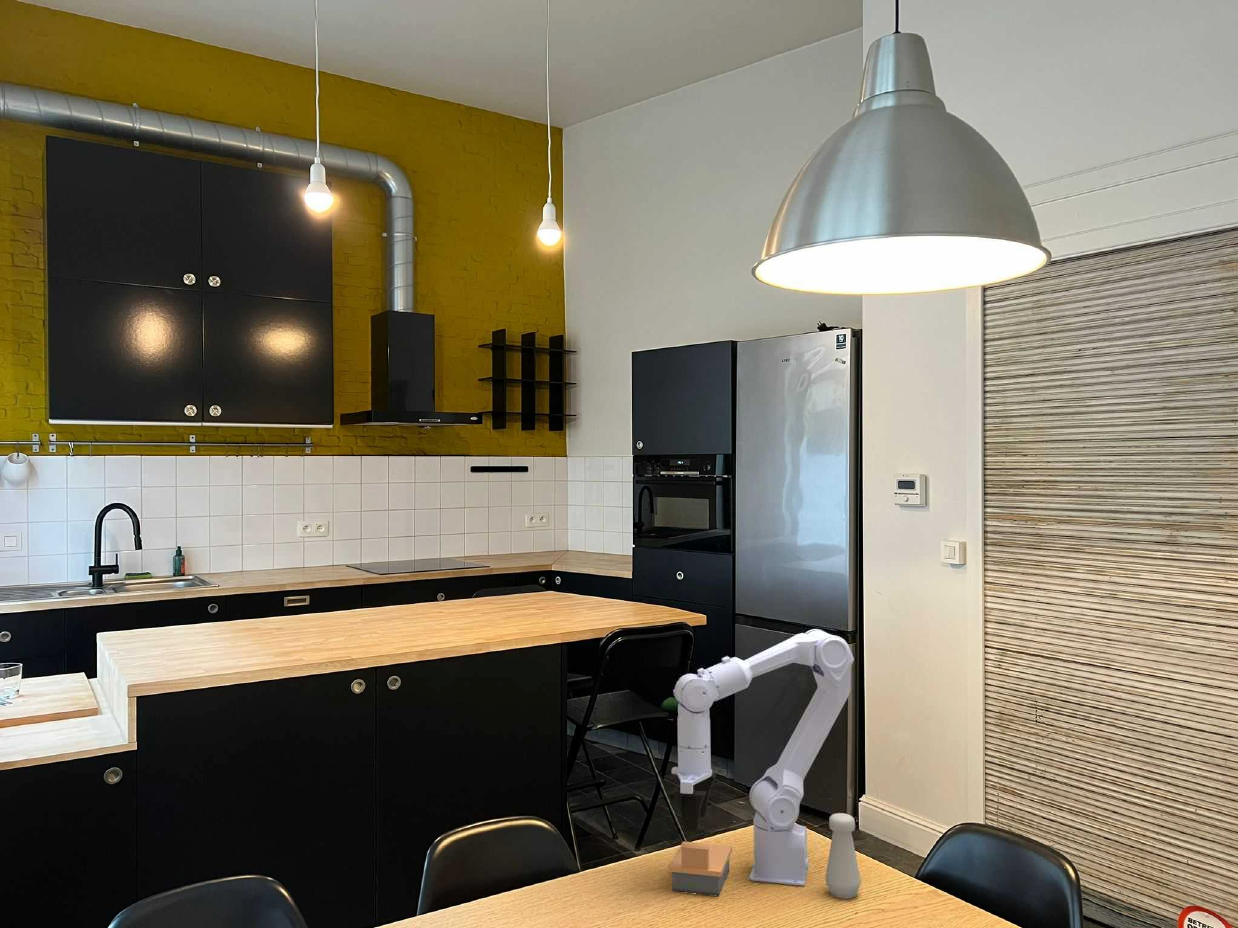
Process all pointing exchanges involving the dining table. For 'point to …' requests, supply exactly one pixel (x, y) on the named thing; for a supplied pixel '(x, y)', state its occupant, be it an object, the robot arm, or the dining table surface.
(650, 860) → the dining table surface
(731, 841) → the dining table surface
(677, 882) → the tub
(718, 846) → the lid
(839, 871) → the salt shaker
